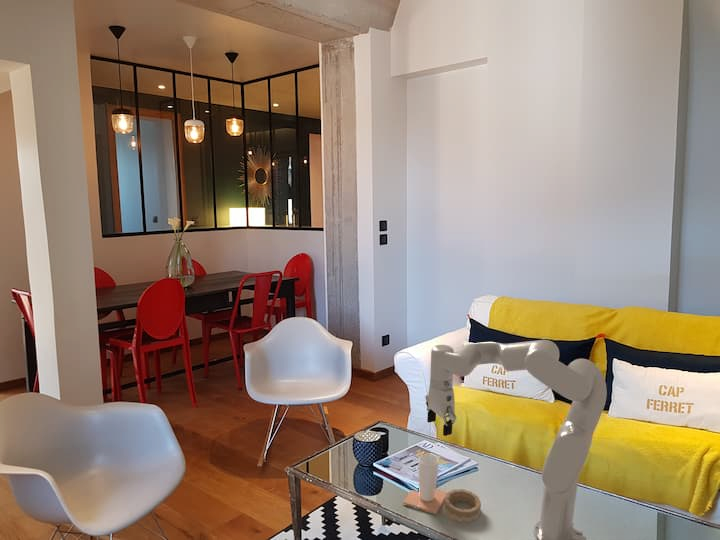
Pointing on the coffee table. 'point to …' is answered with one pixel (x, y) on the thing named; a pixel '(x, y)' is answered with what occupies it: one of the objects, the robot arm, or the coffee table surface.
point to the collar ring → (460, 514)
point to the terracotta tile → (429, 506)
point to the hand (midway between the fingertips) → (439, 428)
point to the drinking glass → (427, 476)
